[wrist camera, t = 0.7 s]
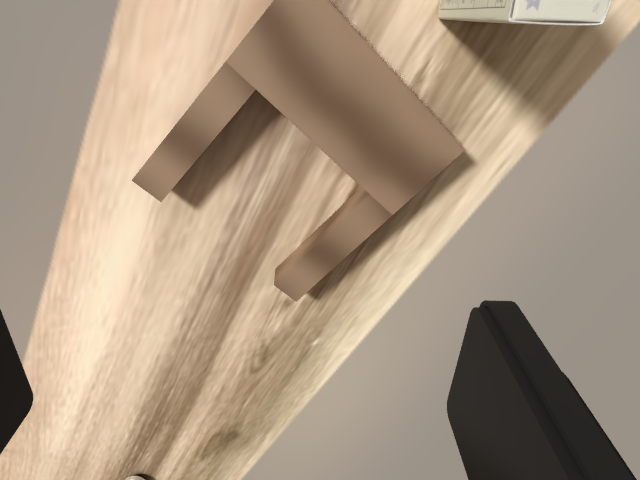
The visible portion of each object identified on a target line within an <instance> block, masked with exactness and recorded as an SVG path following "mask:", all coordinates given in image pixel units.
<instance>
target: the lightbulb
mask: <svg viewBox="0 0 640 480" xmlns="http://www.w3.org/2000/svg"><path fill="white" fill-rule="evenodd" d="M125 480H145V479H144V478H142V477H141V476H130V477H127V478H126V479H125Z"/></svg>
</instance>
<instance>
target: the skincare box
mask: <svg viewBox="0 0 640 480" xmlns="http://www.w3.org/2000/svg"><path fill="white" fill-rule="evenodd" d="M610 3H611V0H440V3H439V11H438V18H439V19H445V20H457V21H473V22H492V23H512V24H537V25H568V26H597V25H601V24H603V23H604V21H605V18H606V15H607V12H608V9H609V7H610Z"/></svg>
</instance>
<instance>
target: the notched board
mask: <svg viewBox="0 0 640 480" xmlns="http://www.w3.org/2000/svg"><path fill="white" fill-rule="evenodd" d="M255 90H257V91H258V92H259V93H260V94H261V95H262V96H264V97H265V98H266V99H267V100H268V101H269V102H270V103H271V104H272V105H273V106H274V107H275V108H277V109H278V110H279V111H280V112H281V113H282V114H283V115H284V116H285V117H286V118H287V119H289V120H290V121H291V122H292V123H293V124H294V125H295V126H296V127H297V128H298V129H299V130H300V131H302V132H303V133H304V134H305V135H306V136H307V137H308V138H309V139H310V140H311V141H312V142H314V143H315V144H316V145H317V146H318V147H319V148H320V149H321V150H322V151H323V152H324V153H325V154H327V155H328V156H329V157H330V158H331V159H332V160H333V161H334V162H335V163H336V164H337V165H338V166H340V167H341V168H342V169H343V170H344V171H345V172H346V173H347V174H348V175H349V176H350V177H352V178H353V179H354V180H355V181H356V182H357V183H358V184H359V185H360V186H361V188H360V189H359V190H358V191H357V192H356V193H355V194H354V195H353V196H352V197H350V198H349V199H348V200H347V201H346V202H345V203H344V204H343V205H342V206H341V207H340V208H339V209H338V210H337V211H336V212H335V213H334V214H333V215H332V216H331V217H330V218H329V219H327V220H326V221H325V222H324V223H323V224H322V225H321V226H320V227H319V228H318V229H317V230H316V231H315V232H314V233H313V234H312V235H311V236H310V237H309V238H308V239H307V240H306V241H304V242H303V243H302V244H301V245H300V246H299V247H298V248H297V249H296V250H295V251H294V252H293V253H292V254H291V255H290V256H289V257H288V258H287V259H286V260H285V261H284V262H283V263H281V264H280V265H279V266H278V267H277V268H276V271H275V280H274V285H275V286H276V287H277V288H279V289H280V290H281V291H283V292H284V293H285V294H287V295H288V296H289V297H291V298H292V299H294V300H295V301H298V300H299V299H300V298H301V297H302V296H303V295H304V294H305V293H306V292H308V291H309V290H310V289H311V288H312V287H313V286H314V285H315V284H316V283H318V282H319V281H320V280H321V279H322V278H323V277H324V276H325V275H326V274H328V273H329V272H330V271H331V270H332V269H333V268H334V267H335V266H336V265H338V264H339V263H340V262H341V261H342V260H343V259H344V258H345V257H347V256H348V255H349V254H350V253H351V252H352V251H353V250H354V249H355V248H357V247H358V246H359V245H360V244H361V243H362V242H363V241H364V240H365V239H367V238H368V237H369V236H370V235H371V234H372V233H373V232H374V231H375V230H377V229H378V228H379V227H380V226H381V225H382V224H383V223H384V222H385V221H387V220H388V219H389V218H390V217H391V216H392V215H393V214H394V213H396V212H397V211H398V210H399V209H400V208H401V207H402V206H403V205H404V204H406V203H407V202H408V201H409V200H410V199H411V198H412V197H413V196H414V195H416V194H417V193H418V192H419V191H420V190H421V189H422V188H423V187H424V186H426V185H427V184H428V183H429V182H430V181H431V180H432V179H433V178H435V177H436V176H437V175H438V174H439V173H440V172H441V171H442V170H443V169H445V168H446V167H447V166H448V165H449V164H450V163H451V162H452V161H453V160H455V159H456V158H457V157H458V156H459V155H460V154H461V153H462V152H463V151H465V149H464V148H463V147H462V146H461V145H460V144H459V143H458V142H457V140H456V139H455V138H454V137H453V136H452V135H451V134H450V133H449V132H448V131H447V130H446V128H445V127H444V126H443V125H442V124H441V123H440V122H439V121H438V120H437V119H436V118H435V116H434V115H433V114H432V113H431V112H430V111H429V110H428V109H427V108H426V107H425V106H424V104H423V103H422V102H421V101H420V100H419V99H418V98H417V97H416V96H415V95H414V94H413V92H412V91H411V90H410V89H409V88H408V87H407V86H406V85H405V84H404V83H403V82H402V80H401V79H400V78H399V77H398V76H397V75H396V74H395V73H394V72H393V71H392V70H391V68H390V67H389V66H388V65H387V64H386V63H385V62H384V61H383V60H382V59H381V58H380V56H379V55H378V54H377V53H376V52H375V51H374V50H373V49H372V48H371V47H370V46H369V44H368V43H367V42H366V41H365V40H364V39H363V38H362V37H361V36H360V35H359V34H358V32H357V31H356V30H355V29H354V28H353V27H352V26H351V25H350V24H349V23H348V22H347V20H346V19H345V18H344V17H343V16H342V15H341V14H340V13H339V12H338V11H337V10H336V8H335V7H334V6H333V5H332V4H331V3H330V2H329V1H328V0H274V1H273V2H272V4H271V5H270V6H269V7H268V9H267V10H266V11H265V12H264V14H263V15H262V16H261V17H260V19H259V20H258V21H257V23H256V24H255V25H254V26H253V28H252V29H251V30H250V31H249V33H248V34H247V35H246V36H245V38H244V39H243V40H242V42H241V43H240V44H239V45H238V47H237V48H236V49H235V50H234V52H233V53H232V54H231V55H230V57H229V58H228V59H227V60H226V62H225V63H224V64H223V66H222V67H221V68H220V69H219V71H218V72H217V73H216V74H215V76H214V77H213V78H212V79H211V81H210V82H209V83H208V85H207V86H206V87H205V88H204V90H203V91H202V92H201V93H200V95H199V96H198V97H197V98H196V100H195V101H194V102H193V104H192V105H191V106H190V107H189V109H188V110H187V111H186V112H185V114H184V115H183V116H182V117H181V119H180V120H179V121H178V122H177V124H176V125H175V126H174V128H173V129H172V130H171V131H170V133H169V134H168V135H167V136H166V138H165V139H164V140H163V141H162V143H161V144H160V145H159V147H158V148H157V149H156V150H155V152H154V153H153V154H152V155H151V157H150V158H149V159H148V160H147V162H146V163H145V164H144V166H143V167H142V168H141V169H140V171H139V172H138V173H137V174H136V176H135V177H134V178H133V179H132V181H133V182H135V183H136V184H137V185H139V186H140V187H141V188H143V189H144V190H145V191H147V192H148V193H149V194H151V195H152V196H154V197H155V198H156V199H158V200H159V201H160V202H162V200H163V199H164V198H165V197H166V196H167V194H168V193H169V192H170V191H171V190H172V189H173V187H174V186H175V185H176V184H177V183H178V181H179V180H180V179H181V178H182V177H183V175H184V174H185V173H186V172H187V171H188V170H189V168H190V167H191V166H192V165H193V164H194V162H195V161H196V160H197V159H198V158H199V156H200V155H201V154H202V153H203V152H204V151H205V149H206V148H207V147H208V146H209V145H210V143H211V142H212V141H213V140H214V139H215V137H216V136H217V135H218V134H219V133H220V132H221V130H222V129H223V128H224V127H225V126H226V124H227V123H228V122H229V121H230V120H231V118H232V117H233V116H234V115H235V114H236V113H237V111H238V110H239V109H240V108H241V107H242V105H243V104H244V103H245V102H246V101H247V99H248V98H249V97H250V96H251V95H252V93H253V92H254V91H255Z"/></svg>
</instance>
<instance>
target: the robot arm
mask: <svg viewBox="0 0 640 480" xmlns="http://www.w3.org/2000/svg"><path fill="white" fill-rule="evenodd" d="M32 402H33V393H32V390H31V387H30V384H29V382H28V379H27V377H26V374H25V372H24V369H23V366H22V364H21V361H20V359H19V356H18V354H17V351H16V349H15V346H14V343H13V341H12V338H11V336H10V333H9V330H8V328H7V325H6V323H5V320H4V318H3V315H2V312H1V310H0V454H1V452H2V451H3V449H4V448H5V447H6V445H7V444H8V442H9V441H10V439H11V438H12V436H13V435H14V433H15V432H16V430H17V429H18V427H19V426H20V424H21V423H22V421H23V420H24V418H25V417H26V416H27V414H28V413H29V411H30V409H31V406H32ZM447 413H448V418H449V421H450V424H451V427H452V430H453V433H454V436H455V439H456V442H457V445H458V448H459V452H460V455H461V458H462V461H463V464H464V467H465V470H466V473H467V476H468V479H469V480H636V478H635V477H634V475H633V474H632V472H631V471H630V469H629V468H628V467H627V465H626V463H625V462H624V460H623V459H622V458H621V456H620V454H619V453H618V451H617V450H616V448H615V447H614V446H613V444H612V442H611V441H610V439H609V438H608V437H607V435H606V433H605V432H604V431H603V429H602V428H601V426H600V425H599V423H598V422H597V420H596V419H595V417H594V416H593V414H592V413H591V411H590V410H589V408H588V407H587V405H586V404H585V403H584V401H583V399H582V398H581V396H580V395H579V393H578V392H577V390H576V389H575V388H574V386H573V385H572V383H571V382H570V380H569V379H568V378H567V377H566V375H565V374H564V373H563V372H562V371H561V370H560V368H559V367H558V365H557V364H556V362H555V361H554V360H553V358H552V356H551V355H550V353H549V352H548V350H547V349H546V347H545V346H544V344H543V343H542V341H541V340H540V338H539V337H538V335H537V334H536V332H535V331H534V330H533V328H532V327H531V325H530V323H529V322H528V320H527V319H526V317H525V316H524V314H523V313H522V311H521V310H520V308H519V307H518V306H517V304H516V303H515V302H512V301H483V302H482V303H481V305H480V307H479V308H473V309H472V311H471V313H470V317H469V321H468V324H467V328H466V332H465V336H464V340H463V343H462V347H461V351H460V355H459V358H458V362H457V366H456V369H455V373H454V377H453V381H452V384H451V388H450V392H449V396H448V400H447Z"/></svg>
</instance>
